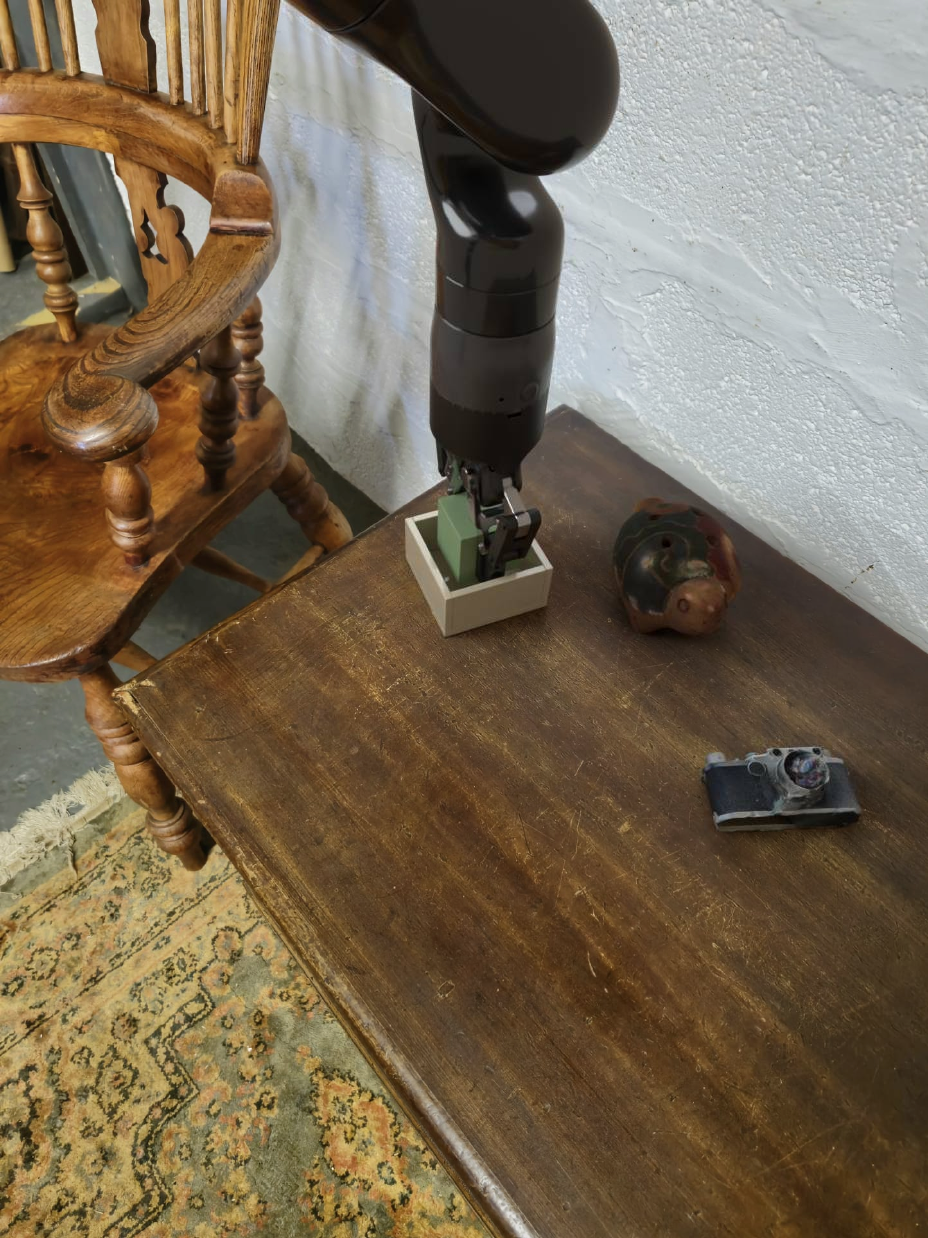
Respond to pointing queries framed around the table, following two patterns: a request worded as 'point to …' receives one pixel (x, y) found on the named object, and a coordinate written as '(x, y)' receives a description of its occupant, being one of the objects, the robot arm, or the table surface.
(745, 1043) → the table surface
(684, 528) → the decorative turtle
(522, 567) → the open square box
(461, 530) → the green box
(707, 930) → the table surface
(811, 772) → the camera
